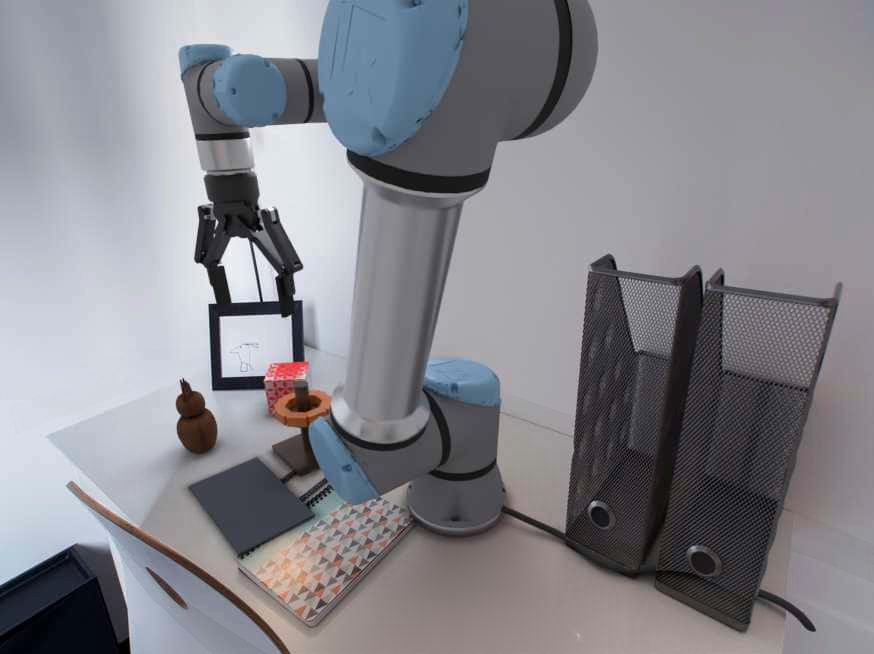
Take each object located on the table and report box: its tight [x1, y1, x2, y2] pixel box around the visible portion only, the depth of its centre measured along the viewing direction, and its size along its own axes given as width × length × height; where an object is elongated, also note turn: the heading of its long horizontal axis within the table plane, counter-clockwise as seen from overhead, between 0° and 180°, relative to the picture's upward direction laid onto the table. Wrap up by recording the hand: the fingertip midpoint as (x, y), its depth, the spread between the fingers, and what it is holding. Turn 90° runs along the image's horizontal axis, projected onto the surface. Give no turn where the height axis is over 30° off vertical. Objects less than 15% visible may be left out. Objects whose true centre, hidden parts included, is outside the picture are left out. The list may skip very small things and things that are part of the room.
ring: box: [274, 389, 332, 428], centre depth 90 cm, size 9×9×2 cm
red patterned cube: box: [263, 361, 314, 417], centre depth 108 cm, size 8×8×8 cm
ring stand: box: [271, 381, 321, 478], centre depth 91 cm, size 10×10×14 cm
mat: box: [188, 457, 316, 556], centre depth 83 cm, size 20×12×1 cm, turn 40°
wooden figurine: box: [175, 377, 219, 455], centre depth 93 cm, size 7×6×15 cm
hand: (255, 310), depth 88 cm, fingers open, 13 cm apart
